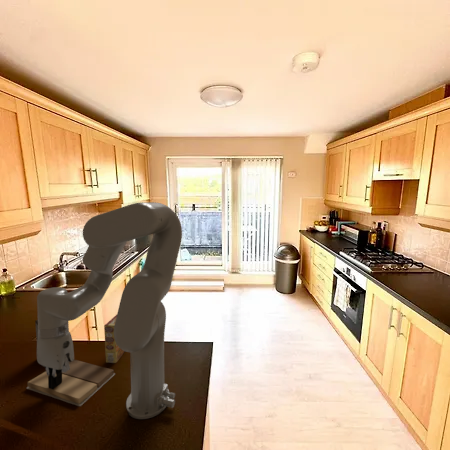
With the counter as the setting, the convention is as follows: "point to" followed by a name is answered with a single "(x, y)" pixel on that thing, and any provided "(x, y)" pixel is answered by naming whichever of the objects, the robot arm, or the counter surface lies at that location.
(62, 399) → the underlay mat
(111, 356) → the candy box
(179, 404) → the counter surface
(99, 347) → the counter surface
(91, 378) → the walnut plank
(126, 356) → the counter surface
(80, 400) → the oak plank
